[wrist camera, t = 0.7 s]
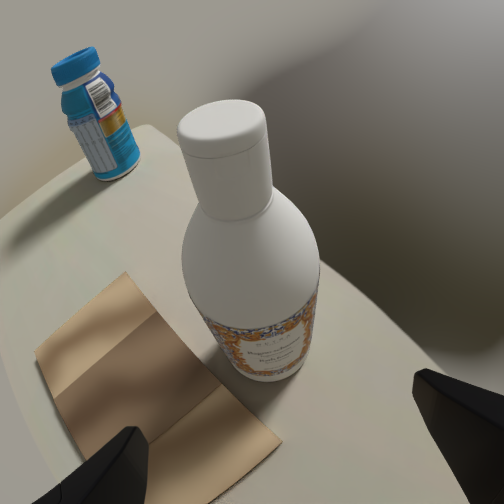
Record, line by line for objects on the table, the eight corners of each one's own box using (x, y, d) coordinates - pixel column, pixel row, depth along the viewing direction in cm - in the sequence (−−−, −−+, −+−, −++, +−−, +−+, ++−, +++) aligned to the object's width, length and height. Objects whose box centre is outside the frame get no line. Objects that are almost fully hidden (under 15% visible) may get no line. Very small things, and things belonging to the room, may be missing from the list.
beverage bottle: (94, 191, 42) (37, 78, 26) (96, 162, 47) (51, 64, 31) (144, 169, 43) (97, 48, 27) (140, 144, 48) (102, 39, 32)
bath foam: (237, 393, 23) (105, 220, 7) (220, 319, 27) (126, 107, 11) (321, 368, 23) (373, 151, 7) (295, 298, 27) (285, 68, 11)
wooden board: (282, 441, 20) (282, 441, 19) (155, 537, 15) (148, 541, 14) (130, 277, 31) (124, 270, 30) (40, 355, 26) (32, 350, 25)
